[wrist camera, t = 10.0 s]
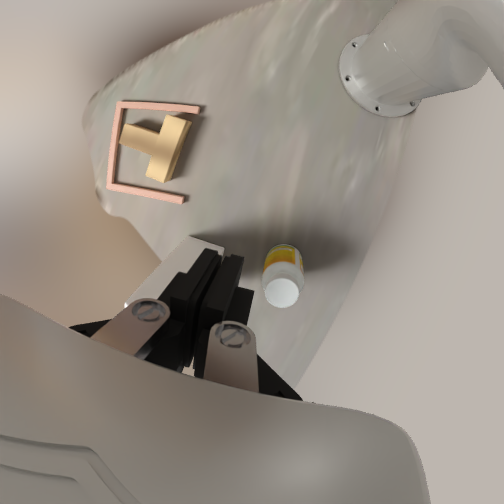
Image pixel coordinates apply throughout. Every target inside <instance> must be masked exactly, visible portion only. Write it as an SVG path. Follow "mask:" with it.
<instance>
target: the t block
mask: <svg viewBox="0 0 504 504" xmlns="http://www.w3.org/2000/svg"><path fill="white" fill-rule="evenodd" d="M191 124H192V122H191V121H188V120H185V119H182V118H179V117H176V116H172V115H166V118H165V120H164V123H163V125H162V128H161V131H160V133H159V132H156V131H153V130H150V129H147V128H144V127H141V126H138V125H135V124H125V125H124V128H123V131H122V134H121V137H120V141H119V143H120V144H123V145H125V146H128V147H131V148H133V149H136V150H139V151H141V152H144V153H147V154H149V155H152V157H151V160H150V163H149V166H148V169H147V172H146V176H148V177H150V178H153V179H155V180H158V181H160V182H162V183H165V182H167V181H170V180H171V177H172V174H173V171H174V168H175V166H176V163H177V160H178V157H179V155H180V152H181V149H182V147H183V144H184V141H185V139H186V136H187V134H188V131H189V129H190V126H191Z"/></svg>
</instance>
